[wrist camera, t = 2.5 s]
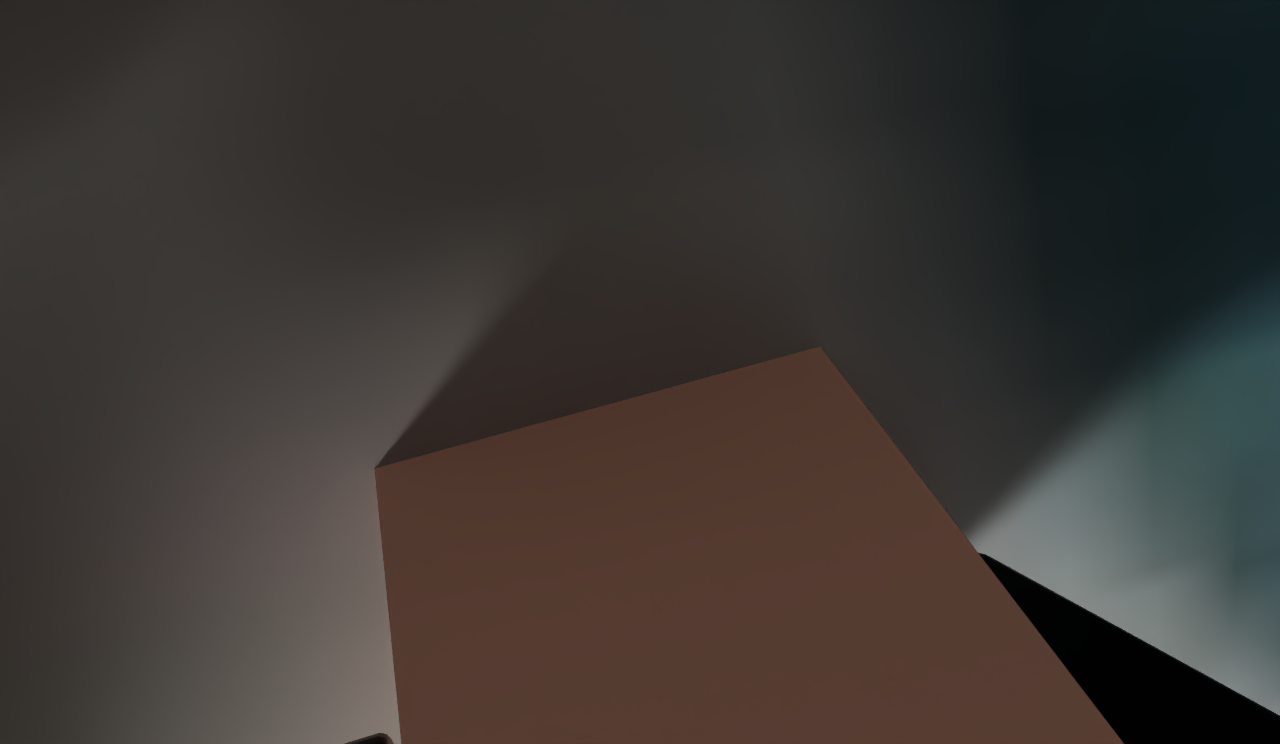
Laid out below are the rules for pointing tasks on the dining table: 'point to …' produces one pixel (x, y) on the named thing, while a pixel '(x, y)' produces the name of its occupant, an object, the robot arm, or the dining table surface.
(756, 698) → the copper brown block
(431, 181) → the dining table surface
